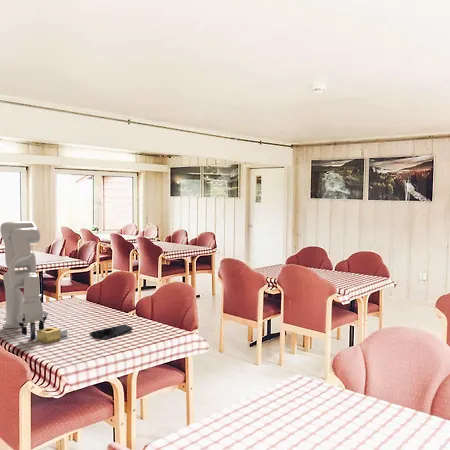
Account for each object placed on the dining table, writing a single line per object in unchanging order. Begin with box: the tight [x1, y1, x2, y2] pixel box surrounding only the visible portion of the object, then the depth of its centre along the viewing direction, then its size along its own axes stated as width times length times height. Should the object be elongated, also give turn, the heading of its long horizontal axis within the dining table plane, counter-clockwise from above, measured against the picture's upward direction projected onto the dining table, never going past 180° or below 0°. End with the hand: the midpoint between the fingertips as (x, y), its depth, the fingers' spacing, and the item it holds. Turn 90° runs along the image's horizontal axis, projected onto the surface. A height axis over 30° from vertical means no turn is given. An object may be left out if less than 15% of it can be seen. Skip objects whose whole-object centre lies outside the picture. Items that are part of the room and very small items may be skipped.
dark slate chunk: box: [88, 323, 133, 340], centre depth 262 cm, size 15×22×5 cm
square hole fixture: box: [26, 326, 72, 345], centre depth 249 cm, size 18×15×6 cm
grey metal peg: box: [29, 321, 36, 340], centre depth 248 cm, size 2×2×8 cm
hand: (33, 332), depth 248 cm, fingers open, 9 cm apart
